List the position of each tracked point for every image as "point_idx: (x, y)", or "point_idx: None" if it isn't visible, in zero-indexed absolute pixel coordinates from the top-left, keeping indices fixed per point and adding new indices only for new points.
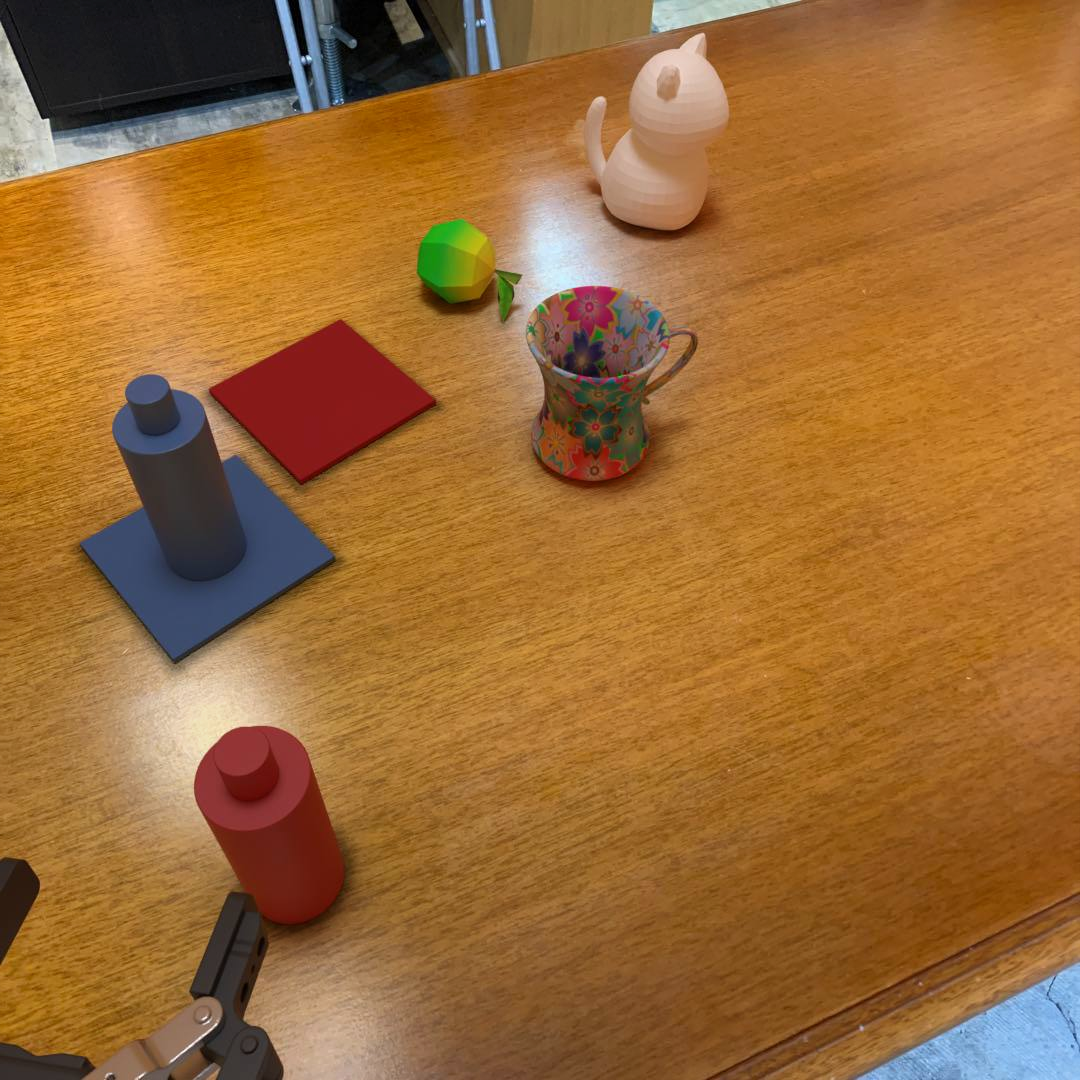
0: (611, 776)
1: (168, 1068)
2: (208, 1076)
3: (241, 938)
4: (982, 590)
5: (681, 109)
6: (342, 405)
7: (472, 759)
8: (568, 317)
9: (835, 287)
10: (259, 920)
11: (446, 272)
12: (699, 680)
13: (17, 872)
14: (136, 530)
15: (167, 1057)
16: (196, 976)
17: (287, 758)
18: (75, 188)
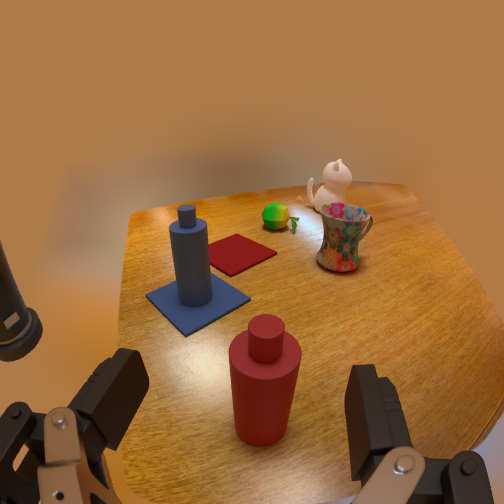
0: (392, 366)
1: None
2: None
3: (384, 398)
4: (467, 292)
5: (340, 173)
6: (242, 254)
7: (333, 369)
8: (329, 212)
9: (389, 226)
10: (390, 382)
11: (274, 216)
12: (408, 328)
13: (133, 360)
14: (167, 290)
15: None
16: (370, 434)
17: (284, 340)
18: (149, 211)
